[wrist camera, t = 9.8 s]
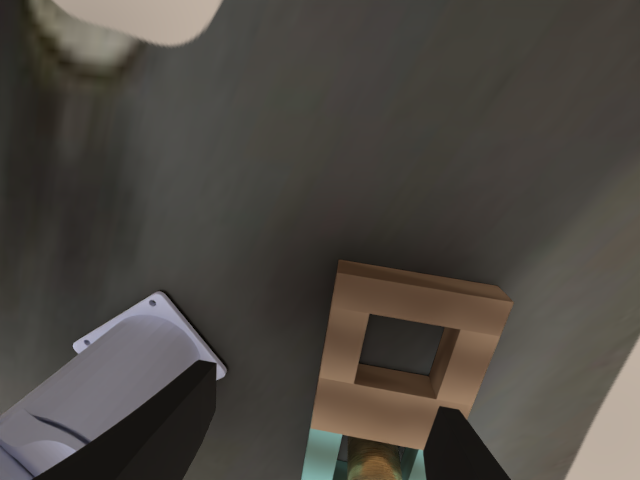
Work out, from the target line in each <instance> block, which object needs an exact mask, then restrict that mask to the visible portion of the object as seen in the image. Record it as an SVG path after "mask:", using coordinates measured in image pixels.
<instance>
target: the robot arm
mask: <svg viewBox="0 0 640 480" xmlns="http://www.w3.org/2000/svg"><path fill="white" fill-rule="evenodd" d="M153 300H154V301H155V302H156V303H154V302H153ZM73 348H74V350H75V351H76V352H77V353H78V355H77V356H76V357H74V358H73V359H72V360H71V361H69V362H68V363H67V364H65V365H64V366H63V367H62V368H60V369H59V370H58V371H57V372H55V373H54V374H53V375H52V376H50V377H49V378H48V379H46V380H45V381H44V382H43V383H41V384H40V385H39V386H38V387H36V388H35V389H34V390H33V391H31V392H30V393H29V394H27V395H26V396H25V397H24V398H22V399H21V400H20V401H19V402H17V403H16V404H15V405H13V406H12V407H11V408H10V409H8V410H7V411H6V412H5V413H3V414H2V415H1V416H0V480H182V479H183V477H184V476H185V474H186V472H187V470H188V468H189V466H190V464H191V463H192V461H193V459H194V457H195V455H196V453H197V451H198V449H199V447H200V446H201V444H202V441H203V439H204V437H205V434H206V432H207V430H208V427H209V425H210V422H211V420H212V417H213V415H214V412H215V408H216V380H218V379H221V378H223V377H224V376H225V374H226V372H227V369H226V367H225V366H224V365H223V364H222V362H221V361H220V360H219V359H218V358H217V356H216V355H215V354H214V353H213V351H212V350H211V349H210V348H209V347H208V345H207V344H206V343H205V342H204V340H203V339H202V338H201V337H200V336H199V334H198V333H197V332H196V331H195V330H194V328H193V327H192V326H191V325H190V323H189V322H188V321H187V320H186V319H185V317H184V316H183V315H182V314H181V313H180V311H179V310H178V309H177V308H176V306H175V305H174V304H173V303H172V302H171V300H170V299H169V298H168V297H167V296H166V294H164V293H163V292H161V291H158V292H155V293H154V294H152V295H150V296H149V297H147V298H146V299H144V300H142V301H141V302H139V303H137V304H136V305H134V306H133V307H131V308H129V309H128V310H126V311H124V312H123V313H121V314H119V315H118V316H116V317H115V318H113V319H111V320H110V321H108V322H106V323H105V324H103V325H102V326H100V327H98V328H97V329H95V330H93V331H92V332H90V333H88V334H87V335H85V336H84V337H82V338H80V339H79V340H77V341H76V342H74V344H73ZM423 457H424V465H425V474H426V480H511V479H510V478H509V477H508V475H507V474H506V473H505V471H504V470H503V469H502V467H501V466H500V465H499V463H498V462H497V461H496V459H495V458H494V457H493V455H492V454H491V453H490V451H489V450H488V448H487V447H486V446H485V444H484V443H483V442H482V440H481V439H480V437H479V436H478V435H477V433H476V432H475V431H474V429H473V428H472V426H471V425H470V424H469V422H468V421H467V420H466V418H465V417H464V415H463V414H462V413H461V411H460V410H459V409H453V408H448V407H443V406H439V408H438V411H437V414H436V417H435V419H434V422H433V425H432V428H431V431H430V433H429V436H428V439H427V442H426V445H425V447H424V450H423Z"/></svg>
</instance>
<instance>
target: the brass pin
mask: <svg viewBox="0 0 640 480" xmlns="http://www.w3.org/2000/svg"><path fill="white" fill-rule="evenodd" d="M347 480H403V479H402V472H401V466H400V459H399V453H398V446H397V445H393V444H388V443H383V442H378V441H373V440H367V439H362V438H357V437H352V436H348V461H347Z"/></svg>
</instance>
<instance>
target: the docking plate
mask: <svg viewBox="0 0 640 480" xmlns="http://www.w3.org/2000/svg"><path fill="white" fill-rule="evenodd" d="M513 304H514V302H513V301H512V300H511V299H510V298H509V297H508V296H507V295H506V294H505V293H504V292H503V291H502V290H501V289H500V288H499V287H498V286H495V285H489V284H483V283H477V282H471V281H465V280H459V279H453V278H447V277H441V276H435V275H429V274H423V273H417V272H411V271H405V270H399V269H393V268H387V267H381V266H375V265H369V264H363V263H357V262H351V261H345V260H339V261H338V267H337V273H336V278H335V284H334V290H333V296H332V302H331V307H330V313H329V319H328V325H327V330H326V336H325V342H324V348H323V354H322V359H321V365H320V371H319V377H318V383H317V388H316V394H315V400H314V406H313V412H312V417H311V423H310V429H309V435H308V441H307V446H306V452H305V458H304V464H303V470H302V476H301V480H347V462H343V461H338V460H337V457H338V452H339V448H340V443H341V439H342V435H347V436H352V437H357V438H362V439H367V440H373V441H378V442H383V443H388V444H393V445H398V446H403V447H406V448H405V451H404V454H403V457H402V460H401V463H400V466H401V472H402V479H403V480H426V474H425V465H424V457H423V450H424V447H425V445H426V442H427V439H428V436H429V433H430V431H431V428H432V425H433V422H434V419H435V417H436V414H437V411H438V408H439V406H443V407H448V408H453V409H459V410H460V411H461V413H462V414H463V415H464V417H465V418H466V420H467V418H468V415H469V413H470V410H471V408H472V405H473V403H474V400H475V398H476V395H477V393H478V390H479V388H480V386H481V383H482V381H483V378H484V376H485V373H486V371H487V368H488V366H489V363H490V361H491V358H492V356H493V353H494V351H495V348H496V346H497V343H498V341H499V338H500V336H501V333H502V331H503V328H504V326H505V323H506V321H507V318H508V316H509V313H510V311H511V308H512V306H513ZM369 314H374V315H380V316H386V317H391V318H397V319H403V320H409V321H414V322H420V323H426V324H432V325H437V326H443V327H445V328H444V331H443V334H442V337H441V341H440V344H439V347H438V350H437V353H436V356H435V359H434V362H433V365H432V368H431V371H430V374H429V376H424V375H419V374H413V373H408V372H402V371H397V370H391V369H386V368H380V367H375V366H369V365H364V364H358V363H359V358H360V354H361V349H362V345H363V340H364V336H365V331H366V327H367V322H368V318H369Z"/></svg>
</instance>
